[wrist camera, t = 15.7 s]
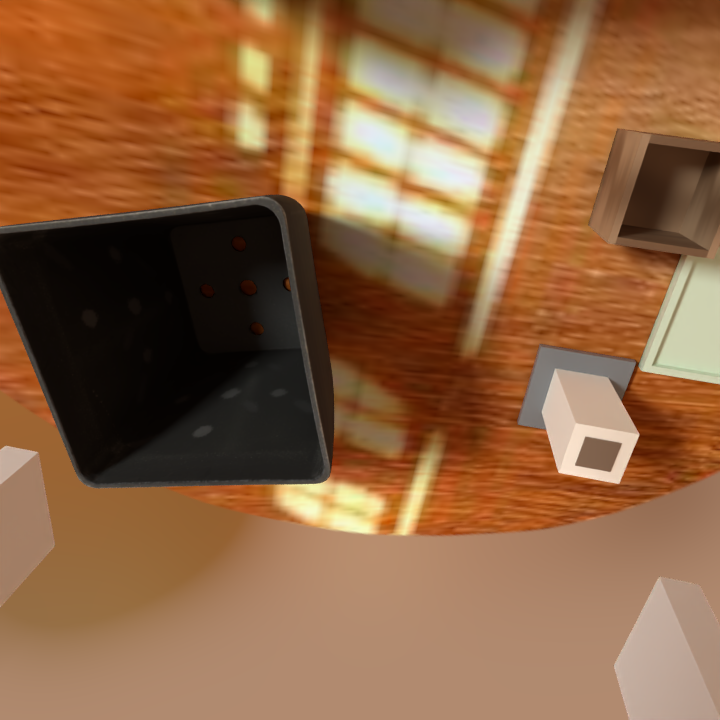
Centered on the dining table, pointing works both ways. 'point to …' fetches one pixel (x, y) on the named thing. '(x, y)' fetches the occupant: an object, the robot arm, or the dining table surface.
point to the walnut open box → (660, 194)
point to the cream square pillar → (588, 426)
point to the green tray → (688, 324)
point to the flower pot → (177, 343)
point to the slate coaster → (571, 361)
